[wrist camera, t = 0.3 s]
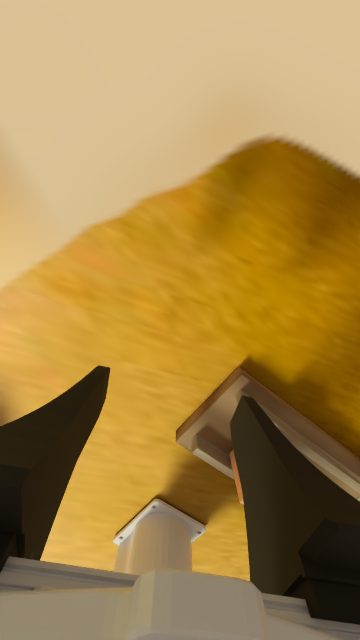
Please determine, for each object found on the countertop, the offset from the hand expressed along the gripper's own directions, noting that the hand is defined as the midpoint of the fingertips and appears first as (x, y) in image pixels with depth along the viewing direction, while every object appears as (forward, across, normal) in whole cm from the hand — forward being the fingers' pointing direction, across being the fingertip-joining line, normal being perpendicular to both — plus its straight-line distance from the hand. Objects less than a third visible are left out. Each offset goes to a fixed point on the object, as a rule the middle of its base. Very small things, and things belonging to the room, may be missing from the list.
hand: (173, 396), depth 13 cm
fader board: (+9, -18, +14) cm, 24 cm away
